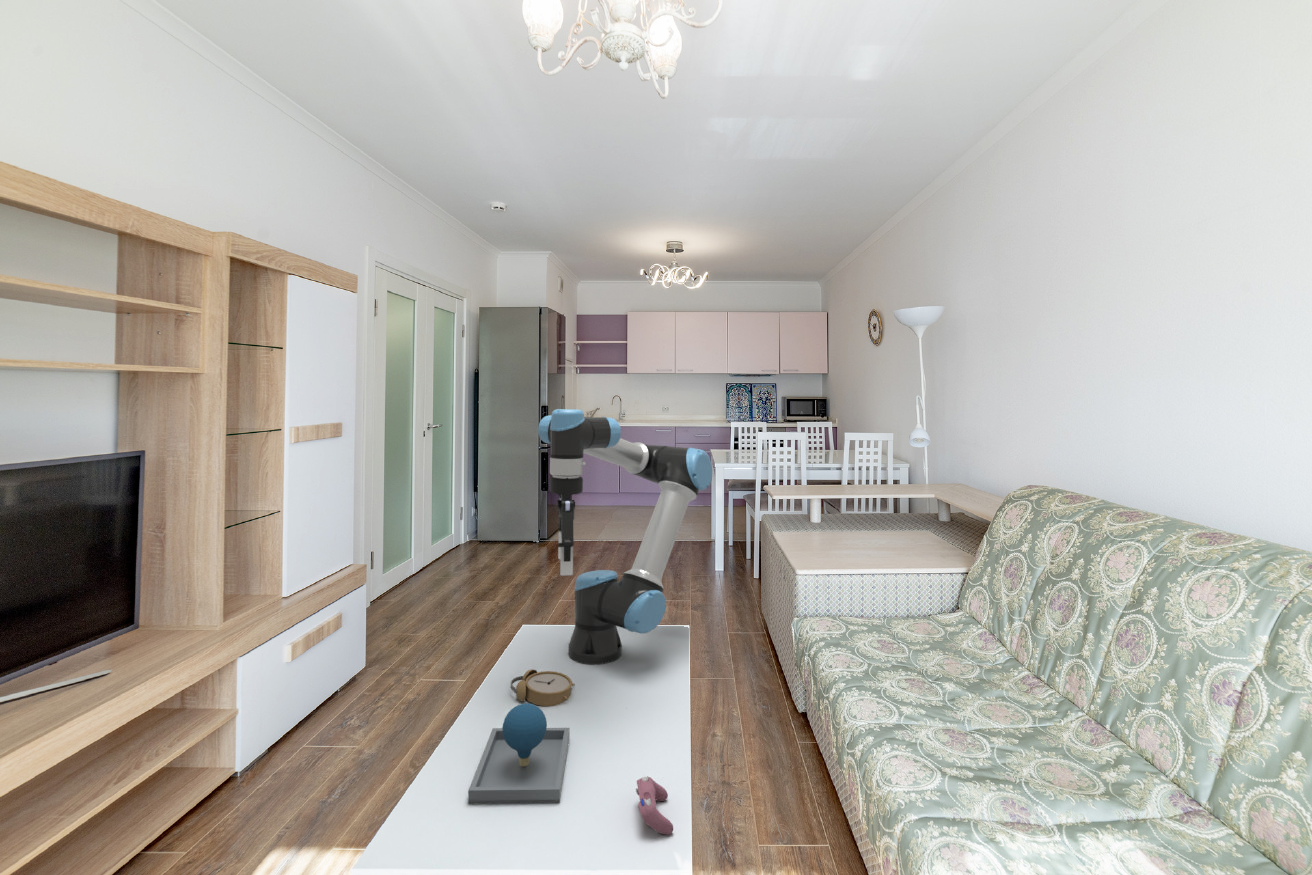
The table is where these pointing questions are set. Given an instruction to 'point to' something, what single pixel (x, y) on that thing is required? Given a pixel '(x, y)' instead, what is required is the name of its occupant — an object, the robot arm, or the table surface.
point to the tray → (520, 771)
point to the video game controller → (653, 805)
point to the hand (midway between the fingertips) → (565, 566)
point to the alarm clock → (543, 687)
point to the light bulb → (524, 730)
